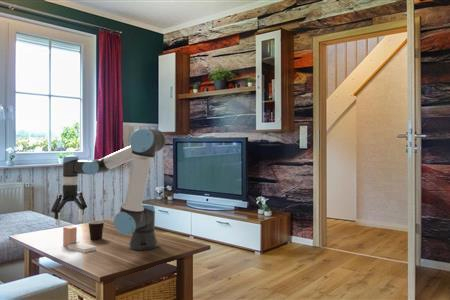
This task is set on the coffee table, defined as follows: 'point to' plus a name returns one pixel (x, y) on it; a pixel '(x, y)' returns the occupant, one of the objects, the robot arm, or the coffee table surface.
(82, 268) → the coffee table surface
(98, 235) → the coffee mug
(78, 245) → the pad
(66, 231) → the stub
